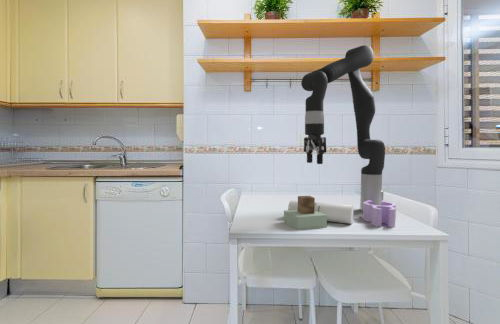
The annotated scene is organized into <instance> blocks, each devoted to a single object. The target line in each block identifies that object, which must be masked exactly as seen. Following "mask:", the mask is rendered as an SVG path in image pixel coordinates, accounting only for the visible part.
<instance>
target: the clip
mask: <svg viewBox="0 0 500 324" xmlns="http://www.w3.org/2000/svg"><path fill="white" fill-rule="evenodd" d="M396 211H397V204H396V203H394V202H390V201H387V200H383V201H381V206H380V205H373V201H371V200H367V201H365V202H363V211H362V220H364V221H366V222H369V223H370V222H371V225H372V226H375V227H379V228H382V224H386V225H387V226H388V228H390V227H392V228H395V227H396V217H397V216H396V215H397V212H396Z"/></svg>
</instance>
